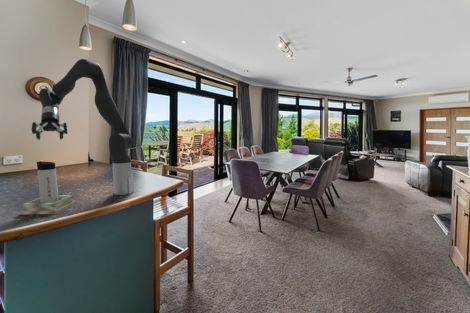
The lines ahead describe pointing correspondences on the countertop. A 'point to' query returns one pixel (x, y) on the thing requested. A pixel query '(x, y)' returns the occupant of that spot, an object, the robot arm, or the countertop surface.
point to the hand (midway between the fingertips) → (50, 138)
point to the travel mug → (47, 182)
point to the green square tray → (48, 205)
